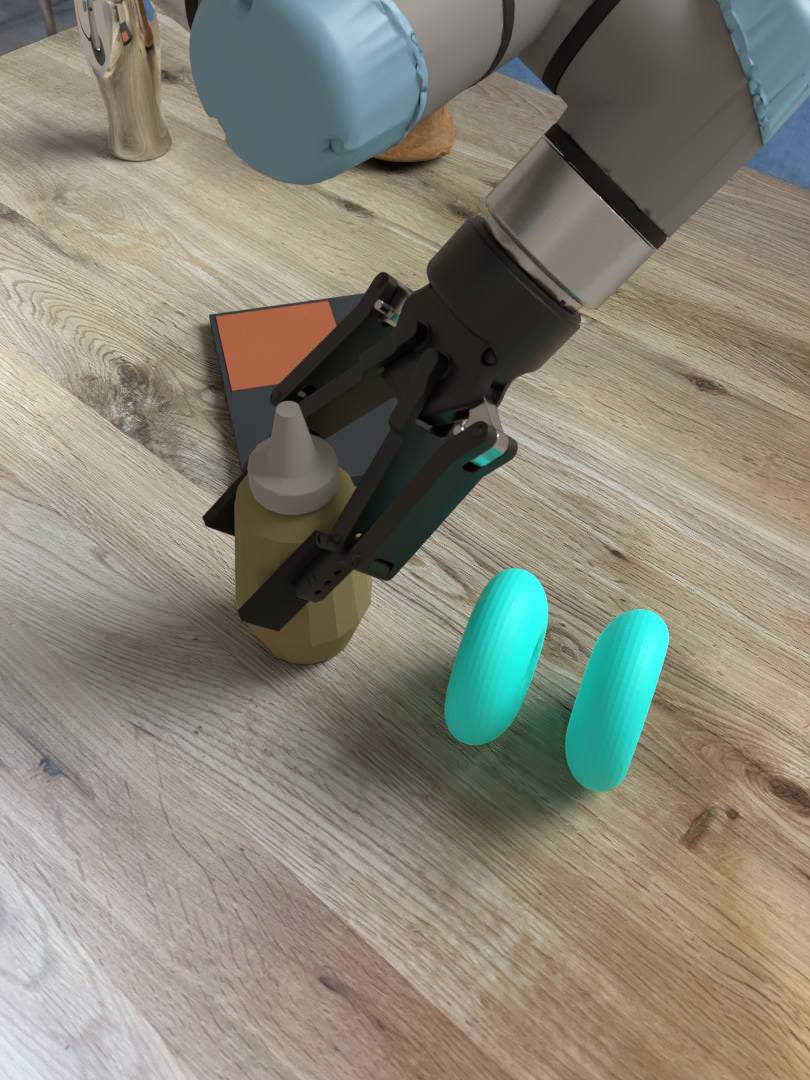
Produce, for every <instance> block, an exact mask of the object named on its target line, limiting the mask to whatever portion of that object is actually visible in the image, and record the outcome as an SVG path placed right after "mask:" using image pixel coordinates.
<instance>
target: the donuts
mask: <svg viewBox="0 0 810 1080" xmlns="http://www.w3.org/2000/svg"><path fill="white" fill-rule="evenodd" d="M548 623H549V602H548V598H547V593H546V591H545V589H544V587H543V585H542V583H541V582H540V580H539V579H538V578H537V577H536V576H535V574H533V573H532V572H530V571H528V570H527V569H523V568H520V567H519V568H518V567H511V568H506V569H503V570H501V571H499V572H498V573H496V574H495V575H493V576H492V578H490V580H489V581H488V582H487V584H486V585H485V586H484V588H483V590H482V591H481V593H480V595H479V596H478V599H477V601H476V603H475V605H474V606H473V609H472V611H471V614H470V615H469V618H468V620H467V623H466V626H465V629H464V631H463V634H462V636H461V640H460V642H459V645H458V648H457V651H456V654H455V657H454V661H453V663H452V664H453V665H452V666H451V667H452V668H451V672H450V676H449V678H448V683H447V684H448V685H447V688H446V694H445V702H444V719H445V723H446V727H447V729H448V731H449V733H451V735H452V736H453V738H455V739H456V740H457V741H459V742H461V743H463V744H465V745H470V746H481V745H485V744H489V743H490V742H492V741H494V740H496V739H497V738H499V737H500V736H502V735H503V734H504V733H505V732H506V730H508V729H509V727H510V726H511V725H512V724H513V722H514V721H515V719H516V718H517V715H518V714H519V712H520V710H521V708H522V706H523V704H524V701H525V699H526V697H527V694H528V691H529V689H530V686H531V684H532V681H533V678H534V675H535V672H536V669H537V666H538V663H539V660H540V657H541V653H542V649H543V646H544V642H545V638H546V634H547V631H548V630H547V629H548ZM669 644H670V632H669V628H668V625H667V624H666V622H665V621H664V619H663V618H662V617H661V616H660V615H659V614H657V613H656V612H654V611H652V610H650V609H645V608H634V609H630V610H626V611H624V612H622V613H620V614H618V615H617V616H615V617H614V618H613V619H612V620H611V621H610V622H608V623H607V624H606V626H605V627H604V628H603V629H602V631H601V632H600V634H599V636H598V637H597V640H596V641H595V644H594V646H593V649H592V651H591V653H590V656H589V659H588V662H587V664H586V668H585V669H584V673H583V676H582V678H581V679H582V680H581V683H580V685H579V688H578V691H577V693H576V698H575V701H574V703H573V707H572V710H571V713H570V716H569V720H568V725H567V728H566V732H565V733H566V734H565V741H564V750H565V758H566V762H567V766H568V768H569V771H570V773H571V775H572V776H573V778H574V779H575V781H576V782H577V783H579V785H581V786H582V787H583V788H585V789H586V790H588V791H591V792H595V793H596V792H597V793H604V792H609V791H612V790H614V789H616V788H617V787H618V786H620V785H621V783H622V782H623V781H624V779H625V778H626V775H627V774H628V771H629V768H630V766H631V763H632V760H633V757H634V756H635V755H634V754H635V753H636V749H637V745H638V743H639V740H640V737H641V734H642V731H643V728H644V726H645V722H646V720H647V717H648V713H649V710H650V707H651V704H652V700H653V698H654V695H655V691H656V688H657V685H658V682H659V678H660V675H661V673H662V668H663V665H664V662H665V659H666V656H667V652H668V648H669Z"/></svg>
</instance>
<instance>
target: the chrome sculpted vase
mask: <svg viewBox="0 0 810 1080" xmlns="http://www.w3.org/2000/svg"><path fill="white" fill-rule="evenodd" d="M73 6H74V14H75V20H76V25H77V26H76V27H77V31H78V36H79V41H80V45H81V49H82V52H83V55H84V58H85V61H86V64H87V67H88V69H89V71H90V74H91V77H92V79H93V82H94V85H95V87H96V89H97V92H98V94H99V97H100V99H101V103H102V105H103V110H104V113H105V118H106V126H107V127H106V128H107V133H106V135H107V149H108V151H109V152H110V154H111V155H113V156H114V157H115V158H118V159H120V160H123V161H129V162H144V161H150V160H154V159H157V158H160V157H162V156H163V155H165V154H167V152H169V150H170V149H171V147H172V145H173V137H172V135H171V132H170V129H169V126H168V124H167V121H166V118H165V114H164V110H163V101H162V44H161V43H162V41H161V33H160V26H159V21H158V16H157V11H156V7H155V6H156V5H155V4H154V3H153V2H152V1H150V0H73Z"/></svg>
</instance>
